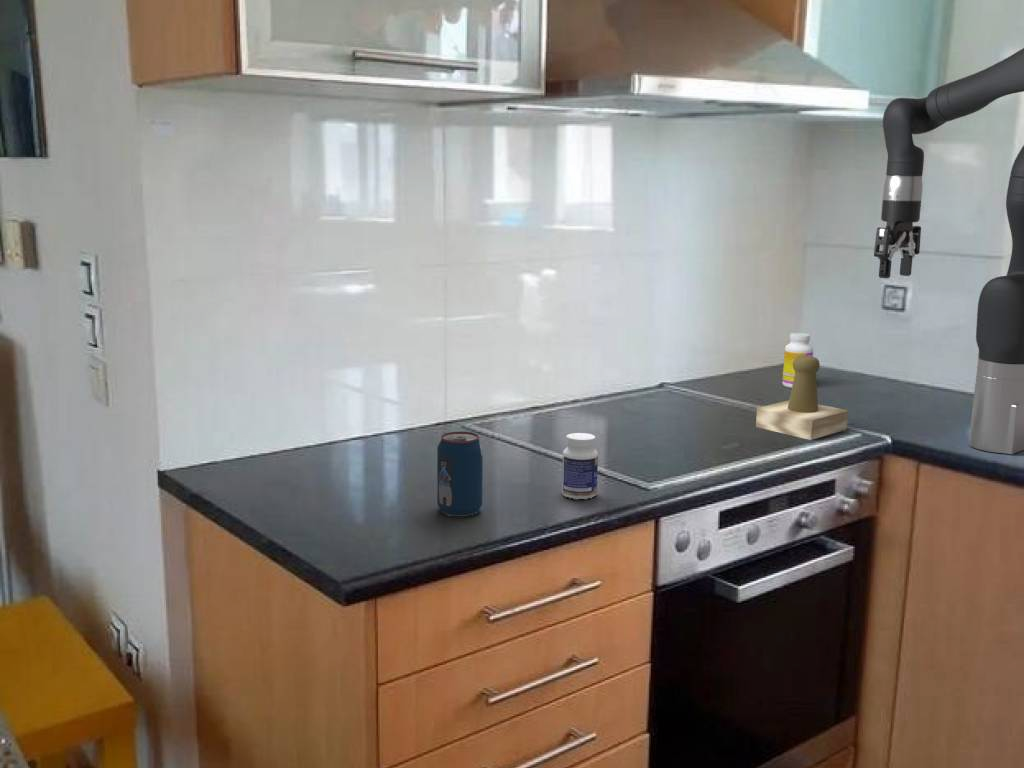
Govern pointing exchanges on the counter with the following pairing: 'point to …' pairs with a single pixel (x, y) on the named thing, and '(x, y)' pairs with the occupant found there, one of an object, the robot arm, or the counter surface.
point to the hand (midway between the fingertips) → (894, 276)
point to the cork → (804, 385)
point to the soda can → (459, 473)
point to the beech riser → (802, 420)
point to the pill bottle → (580, 467)
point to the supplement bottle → (795, 355)
